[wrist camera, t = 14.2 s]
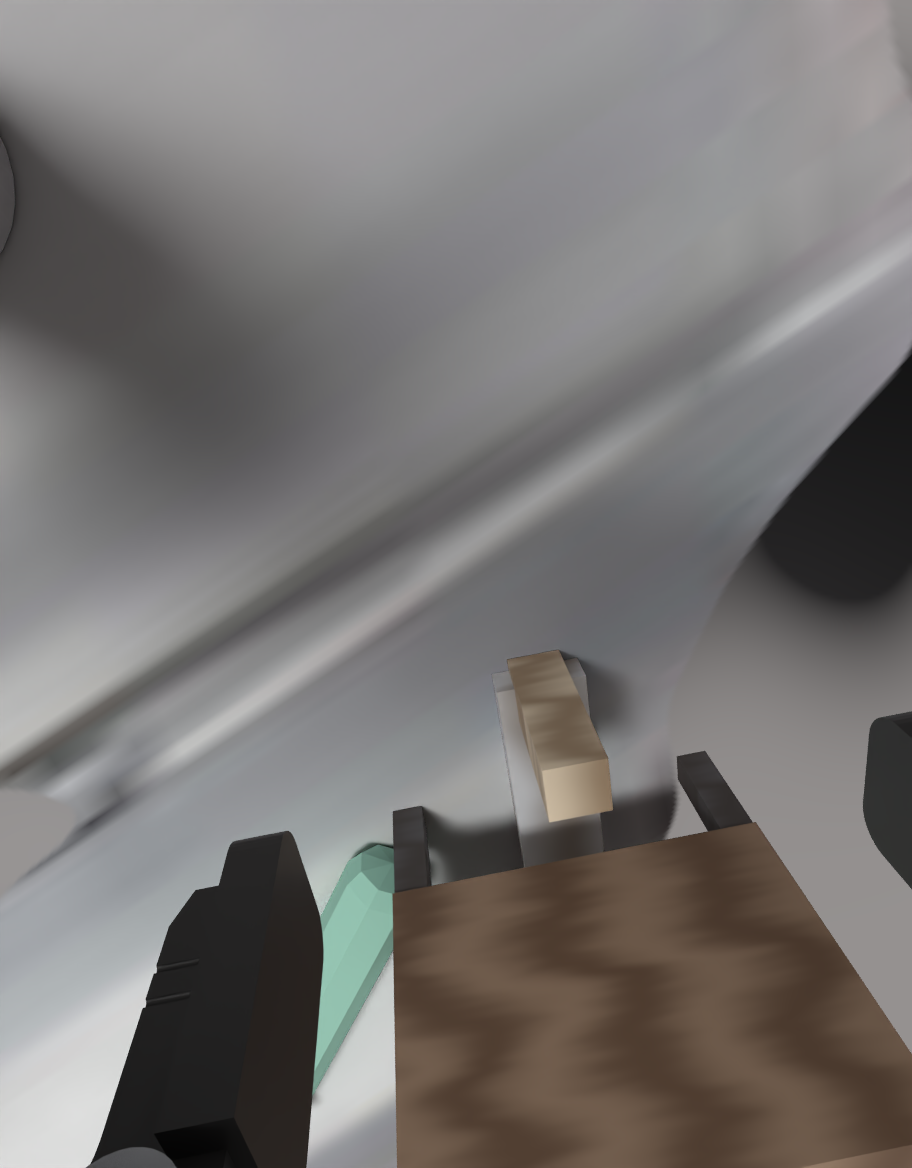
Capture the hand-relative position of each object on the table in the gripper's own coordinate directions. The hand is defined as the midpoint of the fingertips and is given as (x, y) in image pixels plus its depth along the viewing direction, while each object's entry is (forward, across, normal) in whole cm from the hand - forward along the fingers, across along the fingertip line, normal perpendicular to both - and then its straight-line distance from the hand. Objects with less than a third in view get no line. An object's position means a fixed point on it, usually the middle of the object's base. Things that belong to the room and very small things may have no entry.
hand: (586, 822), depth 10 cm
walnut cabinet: (+28, -3, +28) cm, 40 cm away
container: (+29, +14, +36) cm, 48 cm away
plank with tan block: (+28, -3, +27) cm, 39 cm away
